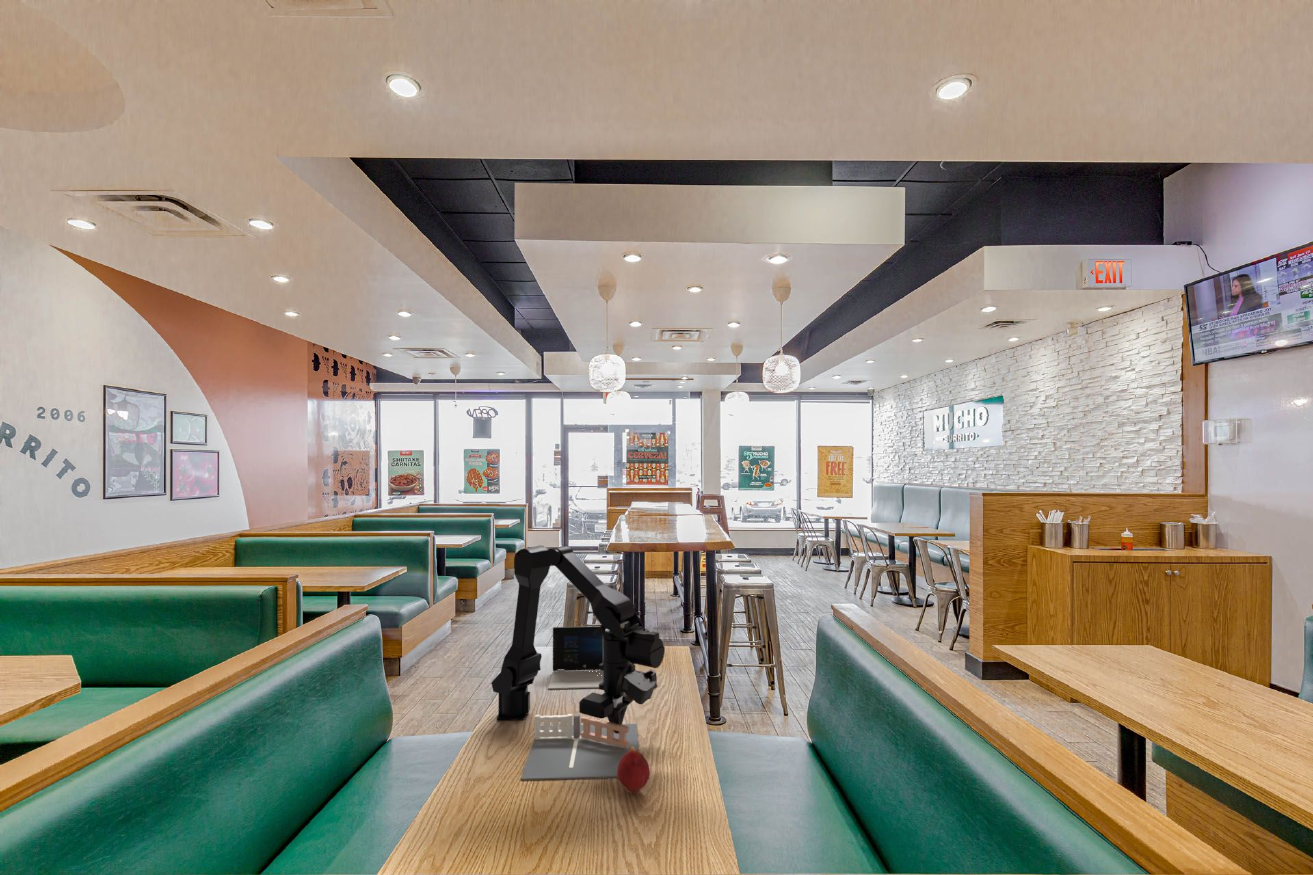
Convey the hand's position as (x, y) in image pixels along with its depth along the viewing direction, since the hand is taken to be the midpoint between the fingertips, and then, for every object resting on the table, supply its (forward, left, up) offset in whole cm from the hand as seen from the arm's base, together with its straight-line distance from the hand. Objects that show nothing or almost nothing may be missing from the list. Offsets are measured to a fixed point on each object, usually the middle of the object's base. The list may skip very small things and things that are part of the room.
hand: (616, 732), depth 125 cm
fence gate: (-3, 0, -2) cm, 4 cm away
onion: (+3, -18, -2) cm, 19 cm away
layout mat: (-7, -2, -2) cm, 7 cm away
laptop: (-10, +37, -3) cm, 38 cm away
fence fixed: (-13, +3, -2) cm, 14 cm away
